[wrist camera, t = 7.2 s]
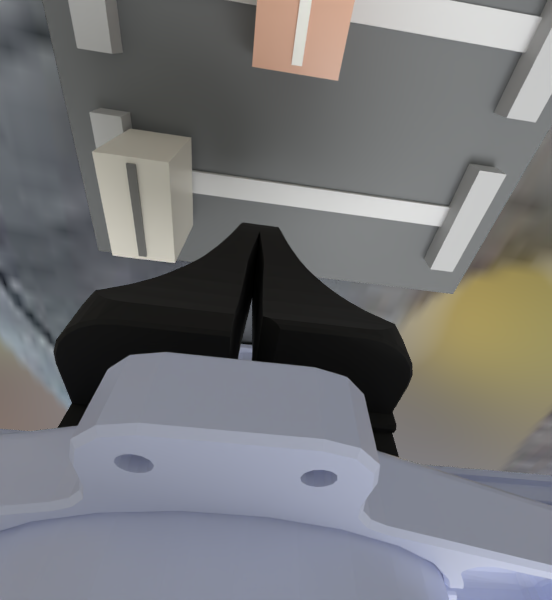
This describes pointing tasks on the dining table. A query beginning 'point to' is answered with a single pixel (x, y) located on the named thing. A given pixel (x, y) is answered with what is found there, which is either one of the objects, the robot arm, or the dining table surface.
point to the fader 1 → (146, 193)
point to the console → (323, 124)
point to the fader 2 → (302, 36)
